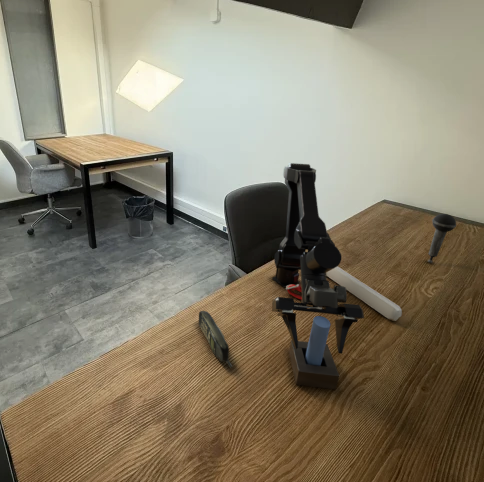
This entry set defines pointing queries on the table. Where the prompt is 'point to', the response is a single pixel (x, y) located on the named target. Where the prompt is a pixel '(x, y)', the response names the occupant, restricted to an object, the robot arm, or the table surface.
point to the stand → (313, 368)
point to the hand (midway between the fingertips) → (318, 350)
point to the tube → (366, 293)
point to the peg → (317, 341)
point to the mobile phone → (214, 337)
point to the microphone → (440, 232)
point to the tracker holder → (294, 289)
